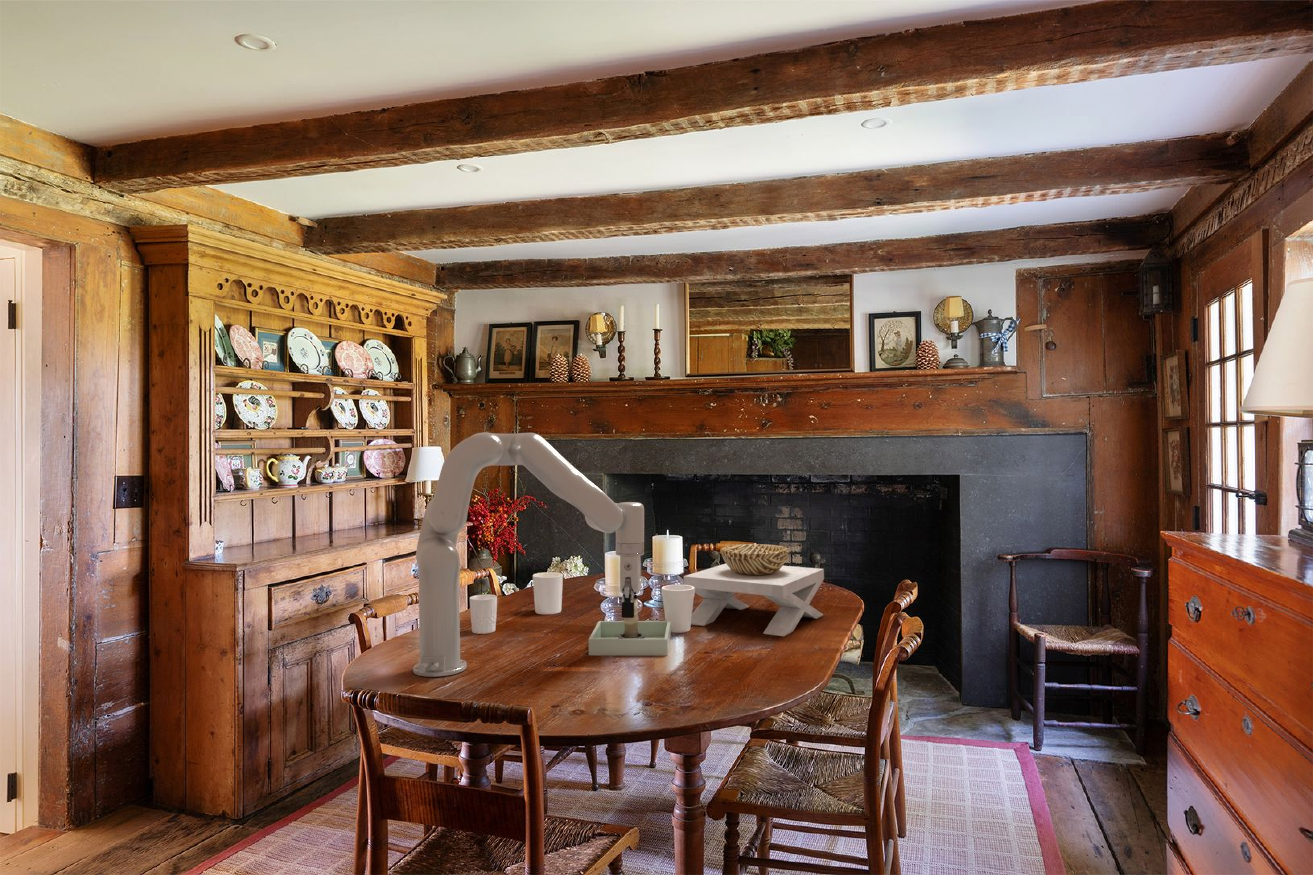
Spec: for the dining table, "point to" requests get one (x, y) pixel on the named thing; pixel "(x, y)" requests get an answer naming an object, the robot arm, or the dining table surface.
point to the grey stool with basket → (757, 585)
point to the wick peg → (632, 623)
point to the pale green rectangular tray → (609, 644)
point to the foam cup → (678, 606)
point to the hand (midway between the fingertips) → (629, 613)
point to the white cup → (483, 613)
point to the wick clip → (640, 636)
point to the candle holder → (548, 592)
